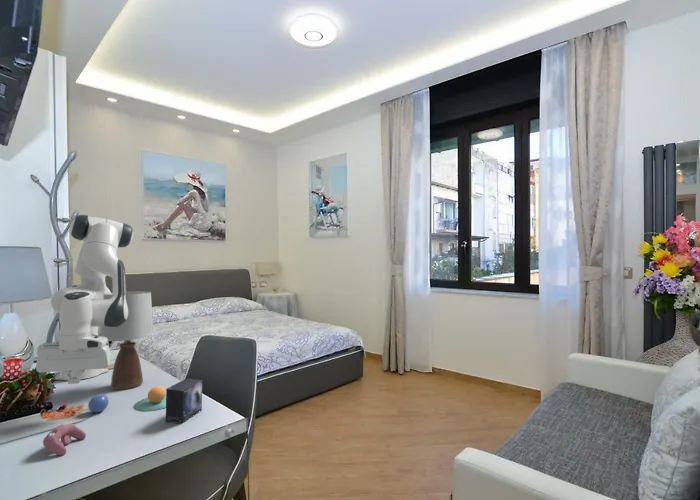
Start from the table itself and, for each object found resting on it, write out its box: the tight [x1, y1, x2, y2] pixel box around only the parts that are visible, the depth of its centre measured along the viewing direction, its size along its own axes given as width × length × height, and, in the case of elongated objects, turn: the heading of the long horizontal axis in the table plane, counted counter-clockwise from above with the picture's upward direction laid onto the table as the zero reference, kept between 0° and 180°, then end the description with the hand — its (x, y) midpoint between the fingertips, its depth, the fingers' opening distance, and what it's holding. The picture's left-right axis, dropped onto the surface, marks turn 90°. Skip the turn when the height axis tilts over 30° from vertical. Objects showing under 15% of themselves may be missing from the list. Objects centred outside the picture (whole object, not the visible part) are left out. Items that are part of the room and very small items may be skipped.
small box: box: [165, 378, 203, 424], centre depth 120 cm, size 11×6×10 cm, turn 168°
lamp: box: [99, 290, 155, 391], centre depth 149 cm, size 19×19×37 cm
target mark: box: [133, 394, 166, 412], centre depth 131 cm, size 14×14×1 cm
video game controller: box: [42, 422, 86, 456], centre depth 101 cm, size 10×5×7 cm, turn 6°
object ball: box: [147, 385, 166, 403], centre depth 131 cm, size 6×6×6 cm
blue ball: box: [87, 394, 109, 414], centre depth 124 cm, size 6×6×6 cm
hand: (74, 383), depth 123 cm, fingers closed
